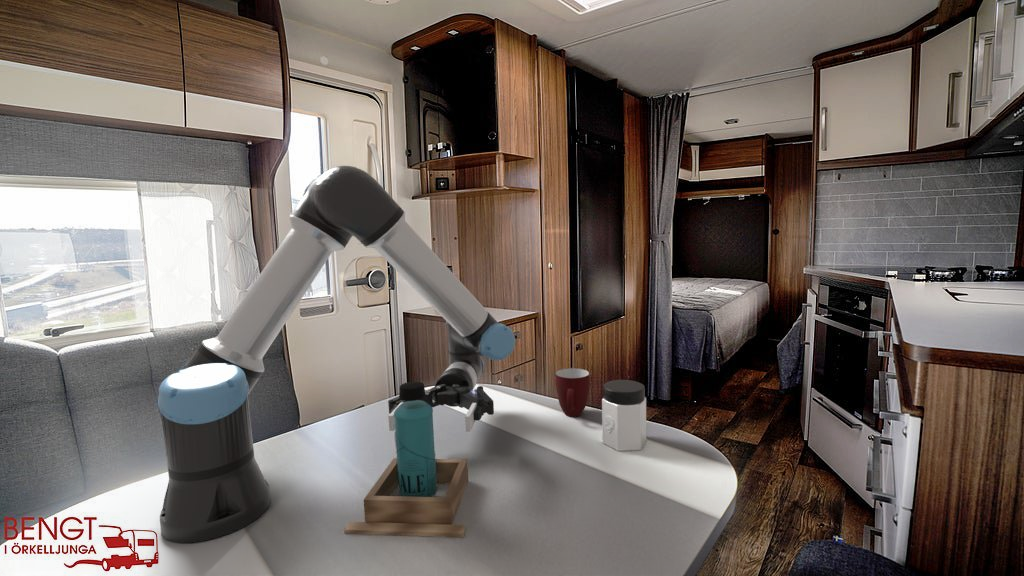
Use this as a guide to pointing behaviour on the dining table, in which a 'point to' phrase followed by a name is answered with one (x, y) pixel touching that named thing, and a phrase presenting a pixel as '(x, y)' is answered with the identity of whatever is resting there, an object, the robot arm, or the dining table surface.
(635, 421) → the jar
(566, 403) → the mug
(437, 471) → the square wooden frame
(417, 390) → the beverage bottle
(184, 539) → the robot arm
